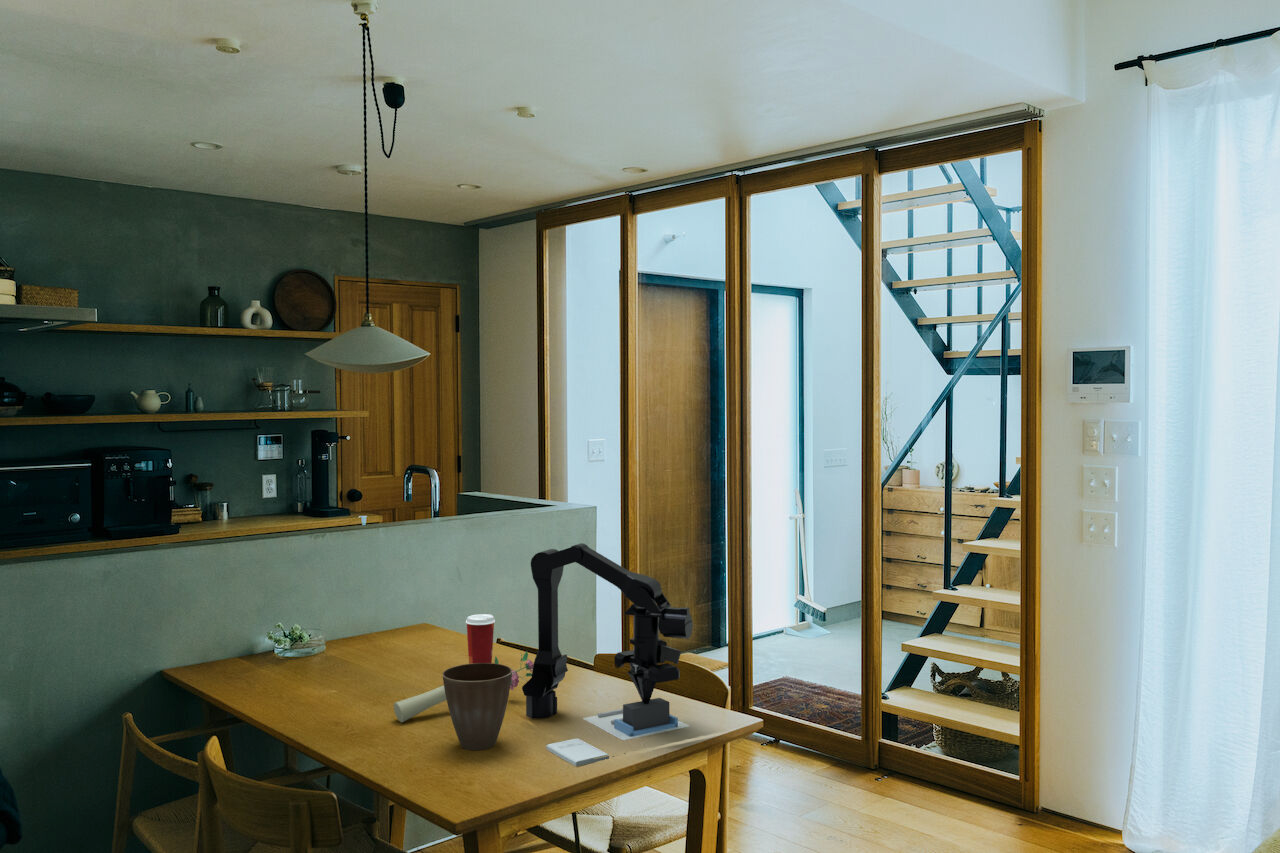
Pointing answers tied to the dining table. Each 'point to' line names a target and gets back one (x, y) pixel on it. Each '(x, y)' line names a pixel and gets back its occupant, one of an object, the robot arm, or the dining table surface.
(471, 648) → the coffee cup
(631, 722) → the dark gray block
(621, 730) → the board
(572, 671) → the dining table surface
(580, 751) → the external hard drive
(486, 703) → the plant pot
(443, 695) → the flower vase
